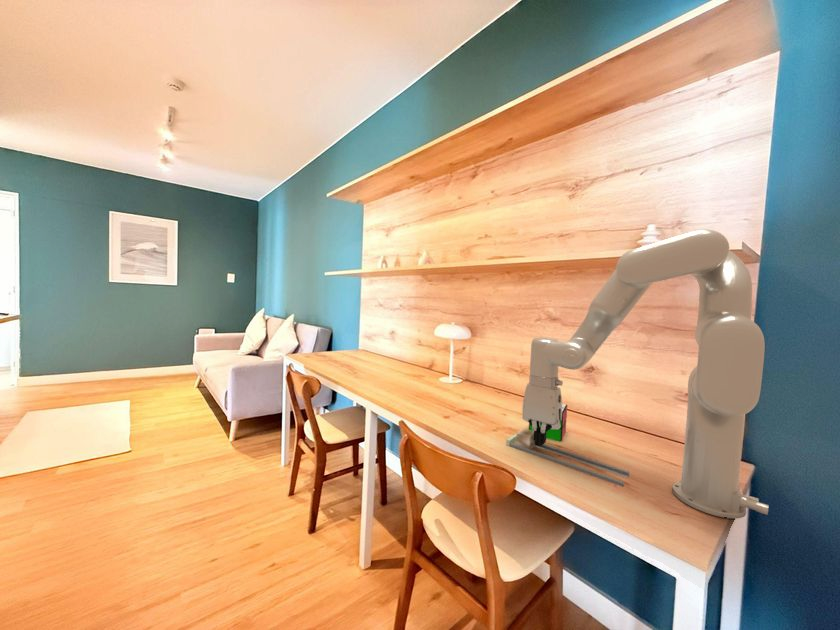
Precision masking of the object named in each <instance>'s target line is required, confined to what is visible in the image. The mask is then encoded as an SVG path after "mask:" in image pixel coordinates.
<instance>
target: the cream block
mask: <svg viewBox="0 0 840 630" xmlns="http://www.w3.org/2000/svg"><path fill="white" fill-rule="evenodd" d="M516 433H517V435H516V442H515V444H516V445H519V446H522V447H525V448H527V449H530V450H533V448H536V447H535V446H537V445H535V440H534V431H531V430H529V428H528V429H527V428H523V429H521V430H519V431H517V432H516Z"/></svg>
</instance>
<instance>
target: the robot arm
mask: <svg viewBox="0 0 840 630" xmlns="http://www.w3.org/2000/svg"><path fill="white" fill-rule="evenodd" d="M687 275H692V276H693V277H694V278H695V280H696V281H697V283H698V287H699V294H698V295H699V297H698V301H699V304H698V312H697V321H696V327H695V331H694V338H695V342H696V343H697V345H698V356H697V365H696V366H695V367H694V368H693V369H692V370H691V372H690V373H689V376H688V381H687V382H688V383H687V409H686V410H687V411H686V423H685V433H684V434H685V435H684V444H683V445H684V446H683V458H682V467H681V468H682V470H681V480H679V481H675V482H673V484H672V488H671V489H672V493H673V494H674V496H676V498H677V499H679V500H680V501H681V502H683V503H684V504H685V505H687V506H689V507H691V508H693V509H695V510H698V511H699V512H700V511H701V512H703V513H706V514H709V515H711V516H716V517H718V518H719V517H720V518H724V517H727V518H726V519H734V520H735V519H743V518H744V517H746V515H747V509H750V510H753V511H755V512H758V513H759V514H764V515H766V516H768V513H769V504H765V503H763V502H760V501H759V500H760V499H759V498H758V497H755V496H750V495H747V494H744V492H742V491H741V490H740V489H741V488H740V485H739V484H740V483H739V481H740V472H741V461H742V449H743V440H744V432H745V431H744V430H745V415H746V414H748V413H750V412H751V411H752V410H753V409H754V408H755V407H756V406H757V404H758V402H759V400H760V395H761V388H762V382H763V381H762V380H763V372H764V371H763V370H764V361H765V347H766V345H765V344H766V343H765V338H764V337H765V336H764V334H763V331H762V329H761V328H760V326H759V325H758V324H757V323H756V322H754V321H753V320H752V308H753V307H752V305H753V304H752V303H753V300H752V296H753V295H752V294H753V283H752V276H751V273H750V271H749V268H748V267H747V266H746V264H745V263H744V261H743V260H742V259H741V258H740V257H739V256H738V255H737V254H736V253H734V252H733V251H731V250H730V243H729V240H728V239H727V237H726V236H725V235H724V234H722V233H721V232H718V231H716V230H714V229H713V230H712V229H698V230H693V231H689V232H686V233H682V234H679V235H675V236H672V237H670V238H665V239H662V240H660V241H657V242H653V243H650V244H646V245H642V246H639V247H635V248H633V249H630V250H628V251H626V252H625V253H623V254H622V255H621V256H620V257H619V258H618V261H617V262H616V267H615V269H614V271H613V272H612V274H611V275H610V276H609V278H608V280H607V281H606V282H605V283H604V285H603V286H602V287H601V288H600V290H599V291H598V293H597V294H596V295H595V296H594V298H593V299H592V300H591V303H590V304H589V307H588V311H587V312H586V313H587V314H586V316H585V317H584V319H583V321H582V323H580V325H579V326H578V328H577V330H575V332H574V334H573V335H572V336H571V337H570V339H569V340H566V341H559V340H558V339H556V338H553V337H543V336H542V337H541V336H540V337H535V338H533V339H532V340H531V342H530V343H531V345H530V360H529V361H530V363H529V378H528V379H529V382H528V383H527V384H526V387H525V390H524V396H523V402H522V409H521V410H522V411H521V412H522V417H521V419H522V420H523V421H525V422H527V423H528V424H529V423H530V425H531V426H532V429H533V430H534V440H535V445H536V446H537V445H538V446H539V447H541V446H542V445H543V444H546V441H547V438H546V432H547V431H548V430H550V429H559V428H560V427H561V426H560V421H561V420H562V404H563V400H562V399H563V398H562V397H563V396H562V392H561V388H560V387H561V386H563V383H564V381H563V380H561V379H559V377H560V376H559V367H560V368H563V369H568V370H571V371H572V370H579V369H582V368H583V367H585V366H586V365H587V364H588V363H589V362H590V360H591V359H592V358H593V357H594V355H595V354H596V353H597V352H598V350H599V349H600V348H601V346H602V345H603V344H604V343H605V342H606V340H607V339H608V337H609V336H610V335H611V334H612V333H613V331H614V330H615V329H617V327H619V326H620V325H621V324H622V322H623V321H624V320H625V319H626V317H627V316H628V315H629V313H630V312H631V311H632V309H633V308H634V307H635V305H637V303H638V302H639V301H640V299H641V298H642V297H643V296H644V294H645V293H646V292H647V291H648V290H649V289H650V287H651V286H652V285H653V283H657V282H662V281H665V280H670V279H674V278H678V277H682V276H683V277H684V276H687ZM559 386H560V387H559ZM540 422H542V426H541V429H540Z"/></svg>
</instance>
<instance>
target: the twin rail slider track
mask: <svg viewBox="0 0 840 630" xmlns="http://www.w3.org/2000/svg"><path fill="white" fill-rule="evenodd" d="M516 435H517V432H516V433H515V434H513V435H511V436H509V437H508V438H507V439H506V440H505V441H506V442H505V443H506V446H508V447H510V448H512V449H516V450H518V451H521V452H524V453H526V454H529V455H532V456H535V457H538V458H541V459H544V460H546V461H550V462H553V463H555V464H558V465H561V466H564V467H567V468H569V469H573V470H574V471H577V472H580V473H584V474H586V475H590V476H592V477H594V478H597V479H601V480H603V481H605V482H609V483H612V484H614V485H618V486H620V487H623V486H624V484H625V482H624V481H623V480H619V479H618V478H614V477H611V476H608V475H606V474H602V473H600V472H596V471H593V470H591V469H588V468H585V467H582V466H580V465H576V464H574V463H570V462H567V461H564V460H562V459H559V458H557V457H556V458H555V457H554V456H550V455H548V454H544V453H541V452H539V451H536V450H533V449H531V450H530V449H527V448H525V447H522V446H519V445H516ZM534 448H538V449H541V450H543V451H546V452H549V453H553V454H555V455H558V456H561V457H565V458H567V459H570V460H573V461H576V462H579V463H583V464H585V465H588V466H591V467H594V468H597V469H600V470H604V471H607V472H608V473H612V474H615V475H618V476H620V477H624V478H625V479H626V478H627V479H628V477H629V476H630V471H629V470H625V469H623V468H619V467H616V466H613V465H610V464H607V463H604V462H600V461H598V460H594V459H592V458H589V457H585V456H582V455H580V454H576V453H574V452H573V453H572V452H570V451H567V450H564V449H561V448H558V447H554V446H551V445H549V444H546V443H545V444H543V445H542V446H541V447H540V446H538V445H536V446H535V447H534Z"/></svg>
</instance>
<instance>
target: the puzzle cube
mask: <svg viewBox="0 0 840 630" xmlns="http://www.w3.org/2000/svg"><path fill="white" fill-rule="evenodd" d="M567 417H568V404H566V403H562V420H561V421H560V426H561V427H560V428H559V429H550V430H548V431H547V432H546V439H548V440H552V441H557V442H562V441H563V439H564V436H565V434H566V431H567ZM541 426H542V422H540V429H541ZM528 430H531V431H534V430H533V429H532V426H531V425H530V423H529V422H528Z"/></svg>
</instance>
